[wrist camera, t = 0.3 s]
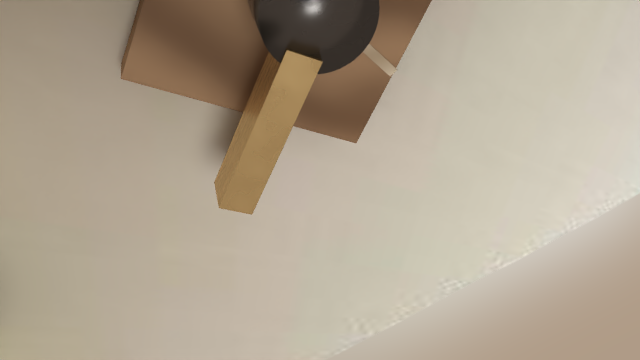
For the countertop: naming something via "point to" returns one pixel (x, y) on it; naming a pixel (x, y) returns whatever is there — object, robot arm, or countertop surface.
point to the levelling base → (259, 59)
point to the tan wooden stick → (288, 83)
